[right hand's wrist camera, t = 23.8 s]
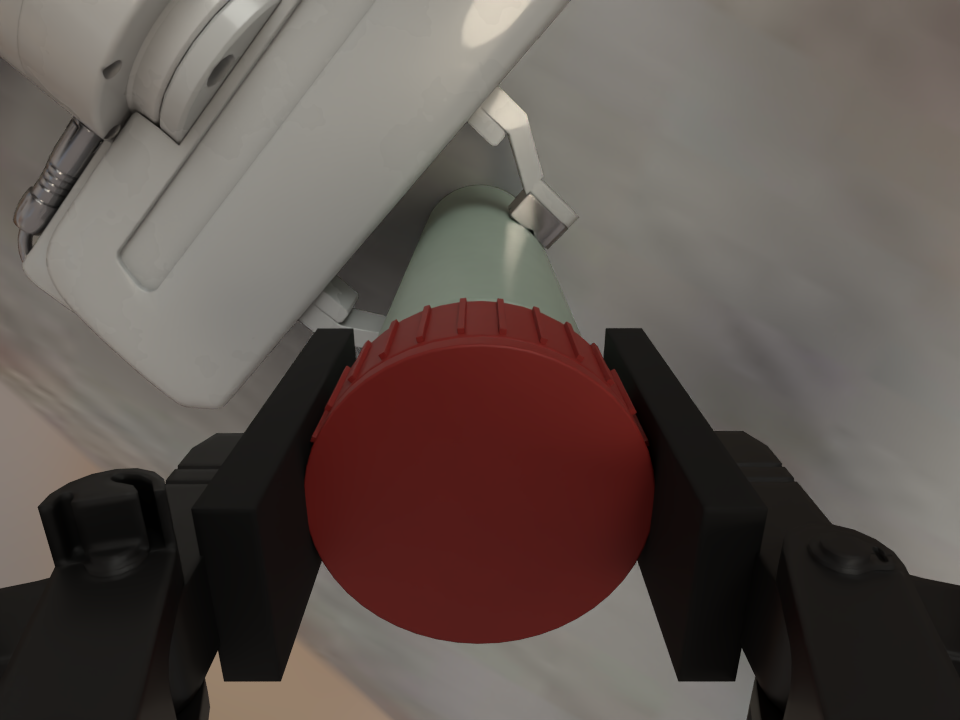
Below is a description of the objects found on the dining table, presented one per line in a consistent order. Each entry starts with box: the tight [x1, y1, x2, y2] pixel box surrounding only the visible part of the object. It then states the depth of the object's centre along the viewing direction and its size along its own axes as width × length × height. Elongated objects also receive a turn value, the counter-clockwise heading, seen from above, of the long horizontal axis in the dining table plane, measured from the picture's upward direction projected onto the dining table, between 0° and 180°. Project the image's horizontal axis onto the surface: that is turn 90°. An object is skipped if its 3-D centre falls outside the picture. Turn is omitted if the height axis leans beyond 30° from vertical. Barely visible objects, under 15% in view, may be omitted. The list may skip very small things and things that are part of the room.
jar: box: [378, 185, 581, 337], centre depth 20 cm, size 5×5×19 cm
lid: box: [304, 298, 655, 644], centre depth 11 cm, size 6×6×2 cm
